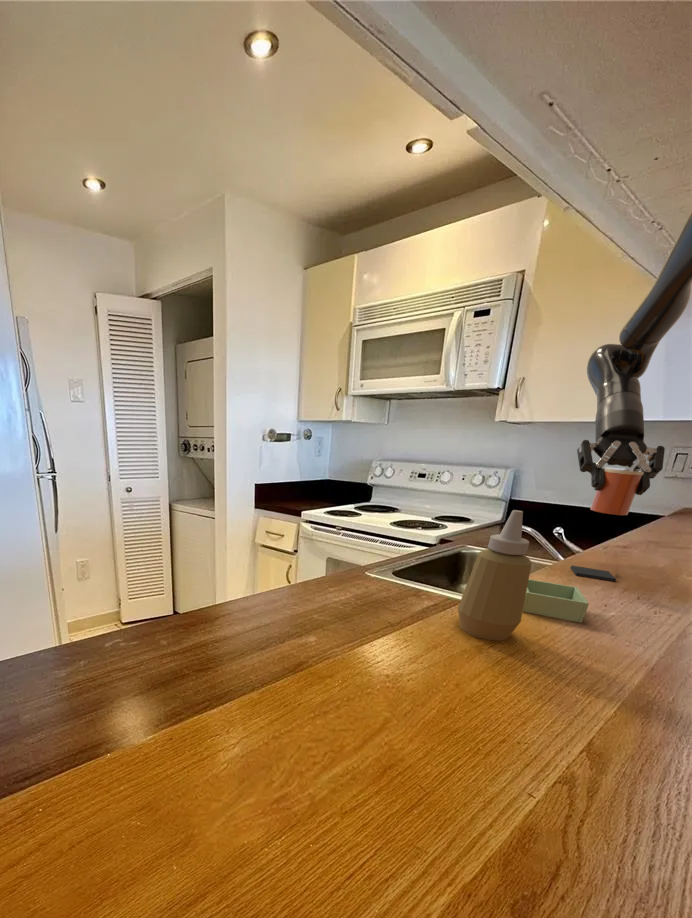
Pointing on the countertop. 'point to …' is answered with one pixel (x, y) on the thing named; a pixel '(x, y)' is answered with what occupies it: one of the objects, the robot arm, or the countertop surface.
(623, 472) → the tumbler
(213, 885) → the countertop surface
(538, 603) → the green shallow open box
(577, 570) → the drying mat
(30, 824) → the countertop surface
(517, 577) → the squeeze bottle
